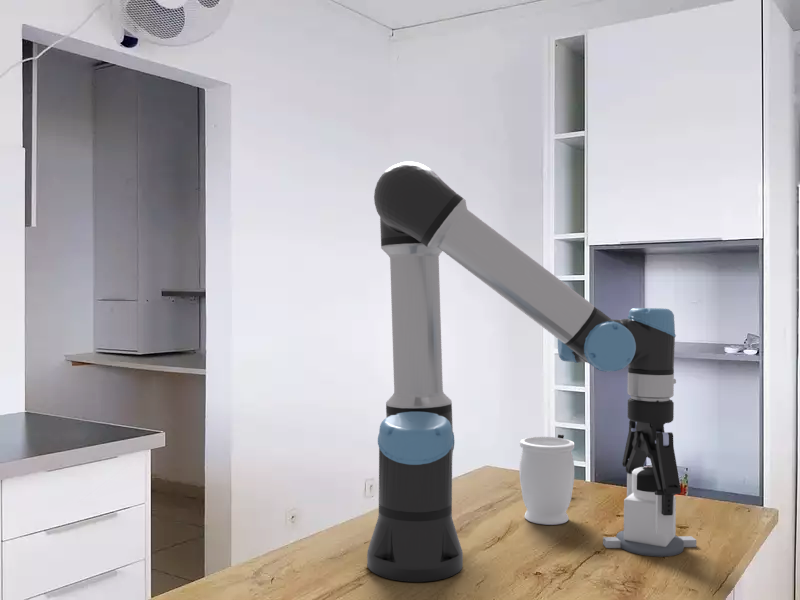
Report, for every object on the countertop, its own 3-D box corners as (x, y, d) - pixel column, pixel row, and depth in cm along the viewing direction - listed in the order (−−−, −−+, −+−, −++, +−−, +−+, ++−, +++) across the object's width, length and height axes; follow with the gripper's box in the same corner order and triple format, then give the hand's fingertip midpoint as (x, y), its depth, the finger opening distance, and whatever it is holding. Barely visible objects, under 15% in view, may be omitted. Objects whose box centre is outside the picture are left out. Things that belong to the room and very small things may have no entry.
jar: (574, 529, 142) (575, 447, 141) (517, 525, 144) (518, 445, 143) (573, 513, 152) (574, 437, 152) (520, 509, 154) (520, 435, 154)
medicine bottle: (675, 536, 134) (676, 467, 134) (666, 548, 128) (666, 475, 127) (634, 529, 137) (634, 462, 137) (623, 540, 131) (623, 470, 131)
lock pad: (615, 557, 127) (615, 549, 127) (591, 532, 140) (591, 525, 140) (708, 555, 127) (708, 548, 127) (675, 531, 141) (675, 524, 141)
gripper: (704, 409, 120) (702, 544, 120) (645, 388, 145) (643, 501, 145) (657, 408, 120) (655, 545, 120) (605, 388, 145) (604, 501, 145)
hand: (648, 521), depth 133 cm, fingers open, 13 cm apart
